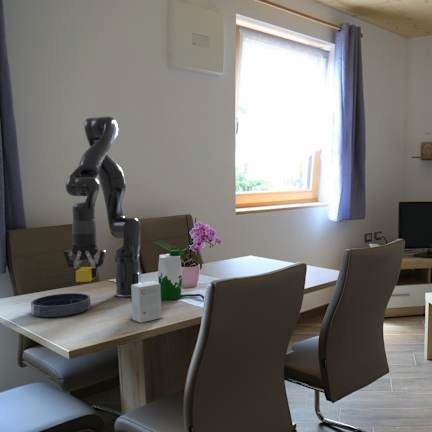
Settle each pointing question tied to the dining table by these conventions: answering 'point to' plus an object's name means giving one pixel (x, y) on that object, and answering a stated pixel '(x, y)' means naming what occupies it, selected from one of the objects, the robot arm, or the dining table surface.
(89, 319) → the dining table surface
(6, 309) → the dining table surface
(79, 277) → the yellow block
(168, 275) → the milk carton
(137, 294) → the small box
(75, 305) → the bowl
